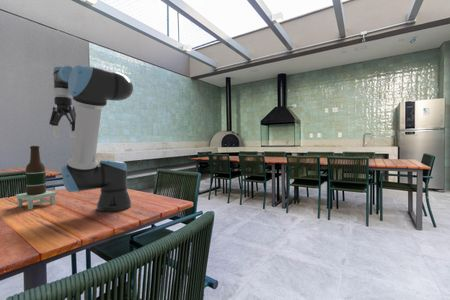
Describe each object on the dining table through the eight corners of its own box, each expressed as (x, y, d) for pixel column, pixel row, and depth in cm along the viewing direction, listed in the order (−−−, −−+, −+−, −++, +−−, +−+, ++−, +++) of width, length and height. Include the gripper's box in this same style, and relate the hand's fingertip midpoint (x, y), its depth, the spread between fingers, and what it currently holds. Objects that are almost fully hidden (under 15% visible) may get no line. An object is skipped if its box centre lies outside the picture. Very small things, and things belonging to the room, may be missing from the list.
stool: (56, 203, 119) (56, 192, 119) (28, 210, 108) (28, 197, 108) (43, 200, 124) (43, 189, 124) (15, 206, 114) (15, 194, 113)
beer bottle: (22, 194, 113) (20, 146, 112) (37, 191, 121) (36, 145, 119) (35, 195, 112) (33, 146, 110) (50, 192, 119) (48, 145, 118)
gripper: (86, 96, 121) (87, 137, 122) (55, 100, 131) (56, 137, 131) (71, 94, 114) (73, 137, 115) (40, 98, 124) (42, 137, 125)
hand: (64, 137), depth 123 cm, fingers open, 13 cm apart
